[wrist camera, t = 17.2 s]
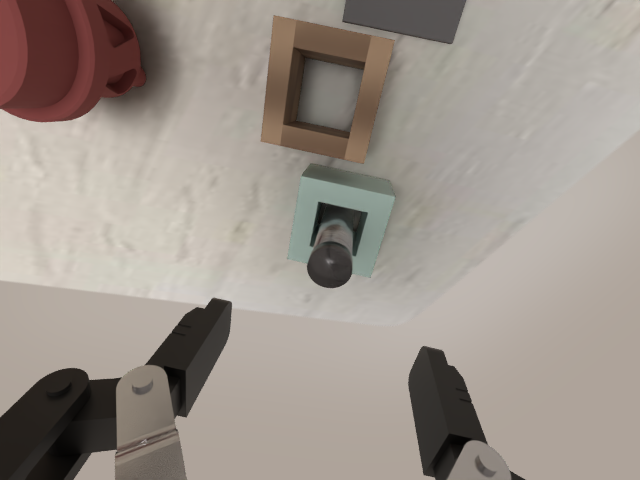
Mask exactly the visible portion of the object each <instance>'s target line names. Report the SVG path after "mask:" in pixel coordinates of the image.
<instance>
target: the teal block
mask: <svg viewBox="0 0 640 480" xmlns="http://www.w3.org/2000/svg"><path fill="white" fill-rule="evenodd" d="M395 197H396V196H395V194H394V191H393V189H392V186H391V184H390V181H389V180H384V179H380V178H375V177H371V176H366V175H361V174H357V173H352V172H348V171H343V170H338V169H334V168H329V167H325V166H320V165H316V164H310V165H309V166H308V168H307V169H306V170H305V171H304V173H303V174H302V175H301V179H300V185H299V191H298V197H297V203H296V209H295V215H294V221H293V227H292V233H291V239H290V245H289V251H288V257H287V259H290V260H294V261H298V262H303V263H307V264H308V260H309V257H310V254H311V252H312V250H313V247H314V244H315V241H316V237H317V234H318V231H319V227H320V224H317V222H318V217H319V212H320V207H321V202H323V203H327V204H332V205H336V206H341V207H345V208H350V209H354V210H359V211H362V213H361V217H360V221H359V225H358V228H357V232H353V246H352V259H353V267H352V274H356V275H360V276H365V277H369V278H371V275H372V271H373V268H374V265H375V262H376V259H377V255H378V252H379V249H380V246H381V242H382V239H383V236H384V233H385V230H386V226H387V223H388V220H389V217H390V213H391V210H392V207H393V204H394V201H395Z"/></svg>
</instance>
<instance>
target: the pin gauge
mask: <svg viewBox="0 0 640 480" xmlns="http://www.w3.org/2000/svg"><path fill="white" fill-rule="evenodd" d="M353 220H354V209H350V208H345V207H341V206H336V205H332V204H327V205H326V208H325V211H324V214H323V218H322V221H321V224H320V227H319V231H318V234H317V237H316V241H315V244H314V247H313V250H312V252H311V254H310V257H309V260H308V264H307V270H308V274H309V276H310V278H311V279H312V280H313V281H314V282H315V283H316V284H318V285H320V286H322V287H326V288H336V287H340V286H342V285H344V284H345V283H346V282H347V281H348V280H349V279H350V277H351V275H352V267H353V259H352V246H353Z"/></svg>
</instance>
